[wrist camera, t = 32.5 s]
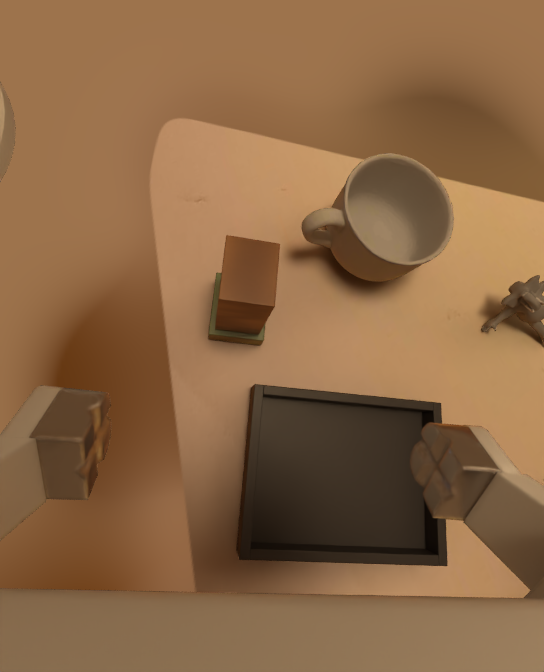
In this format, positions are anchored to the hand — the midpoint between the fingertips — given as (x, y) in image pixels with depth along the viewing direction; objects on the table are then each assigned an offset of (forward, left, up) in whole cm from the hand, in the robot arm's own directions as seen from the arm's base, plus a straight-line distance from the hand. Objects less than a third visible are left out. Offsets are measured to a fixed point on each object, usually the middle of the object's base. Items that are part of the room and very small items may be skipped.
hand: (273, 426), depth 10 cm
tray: (+11, -3, -25) cm, 28 cm away
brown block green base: (0, +11, -25) cm, 28 cm away
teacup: (+12, +20, -25) cm, 35 cm away
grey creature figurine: (+31, +15, -26) cm, 43 cm away
